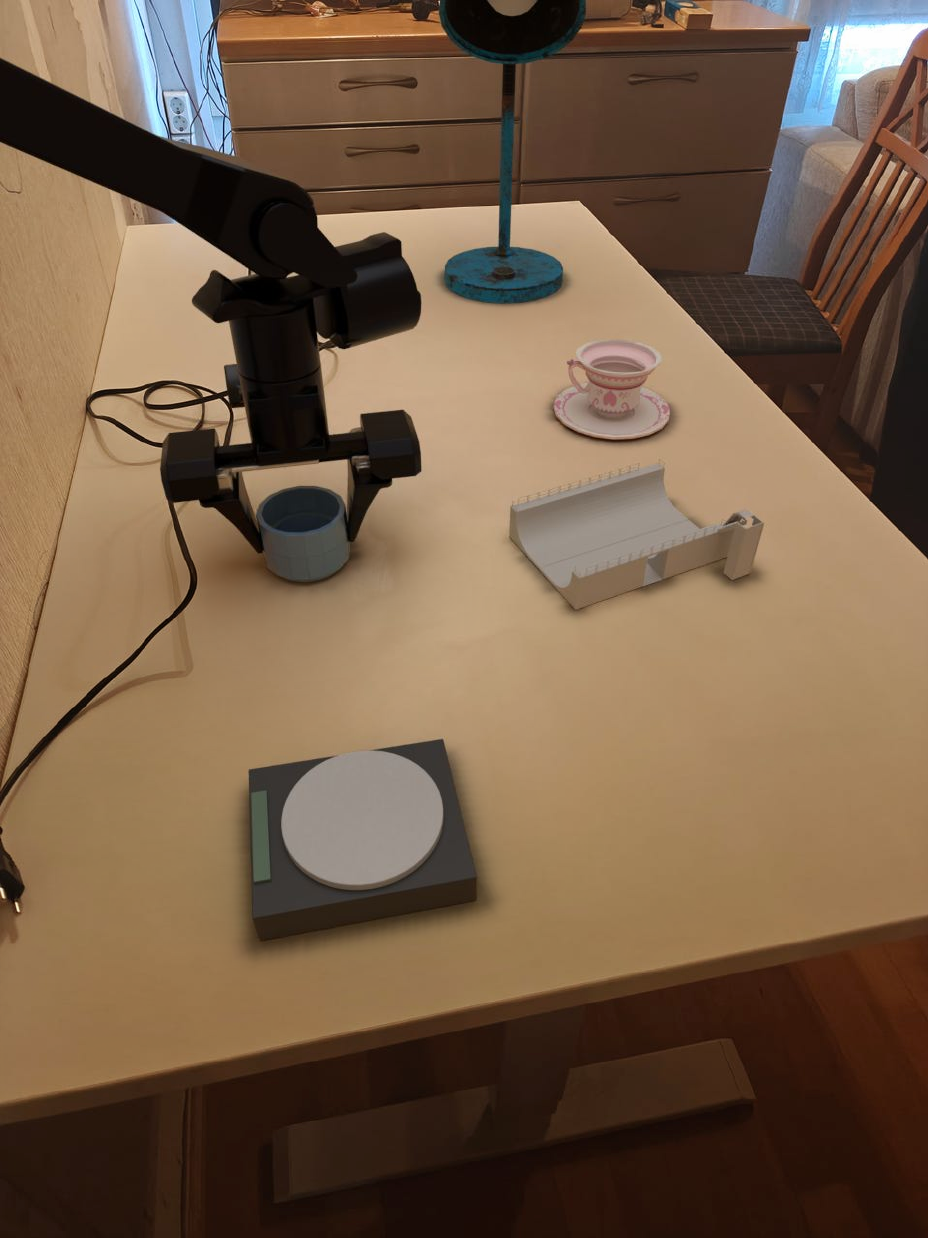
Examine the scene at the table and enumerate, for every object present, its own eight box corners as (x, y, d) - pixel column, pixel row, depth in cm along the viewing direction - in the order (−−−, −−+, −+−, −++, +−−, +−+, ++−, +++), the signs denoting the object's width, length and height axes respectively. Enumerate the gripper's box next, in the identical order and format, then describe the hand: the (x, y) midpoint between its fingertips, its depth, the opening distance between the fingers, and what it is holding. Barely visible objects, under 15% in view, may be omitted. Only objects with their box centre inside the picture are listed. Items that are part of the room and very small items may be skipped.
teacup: (664, 387, 94) (673, 333, 90) (674, 444, 86) (685, 386, 81) (553, 383, 95) (557, 328, 91) (552, 439, 86) (557, 381, 82)
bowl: (249, 573, 71) (239, 522, 67) (294, 527, 75) (286, 478, 72) (323, 595, 68) (316, 544, 65) (365, 546, 73) (360, 496, 70)
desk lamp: (438, 318, 108) (429, -169, 78) (447, 255, 125) (442, -167, 95) (567, 319, 108) (607, -169, 78) (559, 257, 124) (590, -167, 94)
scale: (259, 941, 47) (250, 912, 45) (254, 793, 54) (246, 762, 52) (476, 900, 49) (477, 871, 47) (443, 762, 56) (443, 731, 54)
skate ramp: (653, 492, 79) (661, 443, 76) (750, 574, 70) (764, 522, 67) (509, 536, 74) (511, 486, 71) (594, 630, 65) (601, 577, 62)
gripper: (395, 308, 68) (405, 479, 78) (148, 328, 65) (192, 503, 75) (418, 372, 60) (425, 553, 70) (137, 398, 57) (188, 583, 67)
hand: (306, 544), depth 71 cm, fingers closed on bowl, 7 cm apart
